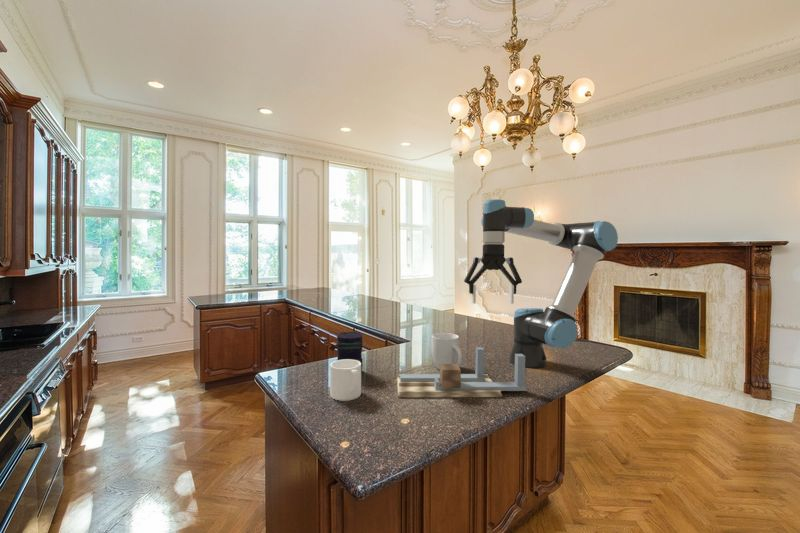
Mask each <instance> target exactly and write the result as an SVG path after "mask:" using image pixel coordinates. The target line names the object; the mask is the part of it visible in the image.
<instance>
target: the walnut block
mask: <svg viewBox="0 0 800 533" xmlns="http://www.w3.org/2000/svg"><path fill="white" fill-rule="evenodd" d="M461 372H462V369H461V368H460V365H459V366H458V364H457V363H456V364H440V369H439V374H440V383H441V386H442V388H461V374H462V373H461Z"/></svg>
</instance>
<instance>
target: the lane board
mask: <svg viewBox="0 0 800 533" xmlns="http://www.w3.org/2000/svg"><path fill="white" fill-rule="evenodd" d="M400 374H401V373H400ZM400 374H399V373H398V376H397V377H396V380H397V398H503V394H502V391H500V390H486V391H436V390H435V387H434V382H400ZM484 377H485V382H493V380H492V379H491V378H490V376H489V374H487V373H486V374H485V373H484Z"/></svg>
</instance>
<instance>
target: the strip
mask: <svg viewBox="0 0 800 533" xmlns="http://www.w3.org/2000/svg"><path fill="white" fill-rule="evenodd" d="M525 374H526V367H525V356H524V355H523V354H515V364H514V377H513V378H514V379H513V380H514V381H492V382H461V388H442V386H441V383H440V382H439V380H438V378H435V382H434V387H435V390H436V391H486V390H500V391H501V392H504V391H505V392H521V391H522V392H526V391H527V386H526V384H525V380H526V378H525V377H526V375H525Z"/></svg>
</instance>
